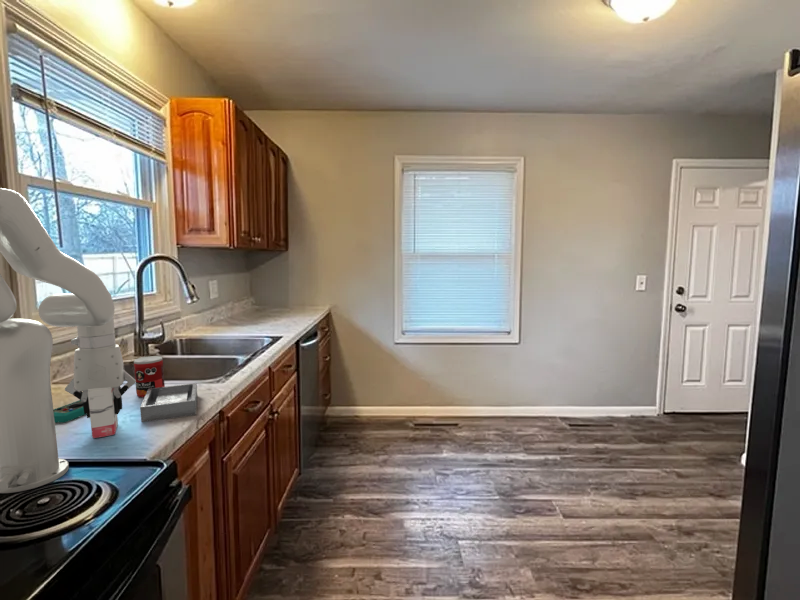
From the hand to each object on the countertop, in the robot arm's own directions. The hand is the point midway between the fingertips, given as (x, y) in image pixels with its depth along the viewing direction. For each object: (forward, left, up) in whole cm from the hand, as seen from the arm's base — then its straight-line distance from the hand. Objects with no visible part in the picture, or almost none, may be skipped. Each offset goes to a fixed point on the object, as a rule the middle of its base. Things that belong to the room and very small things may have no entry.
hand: (103, 413), depth 116 cm
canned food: (+30, -7, -5) cm, 31 cm away
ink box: (0, 0, -5) cm, 5 cm away
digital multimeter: (+19, +10, -5) cm, 22 cm away
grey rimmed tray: (+12, -14, -4) cm, 19 cm away
